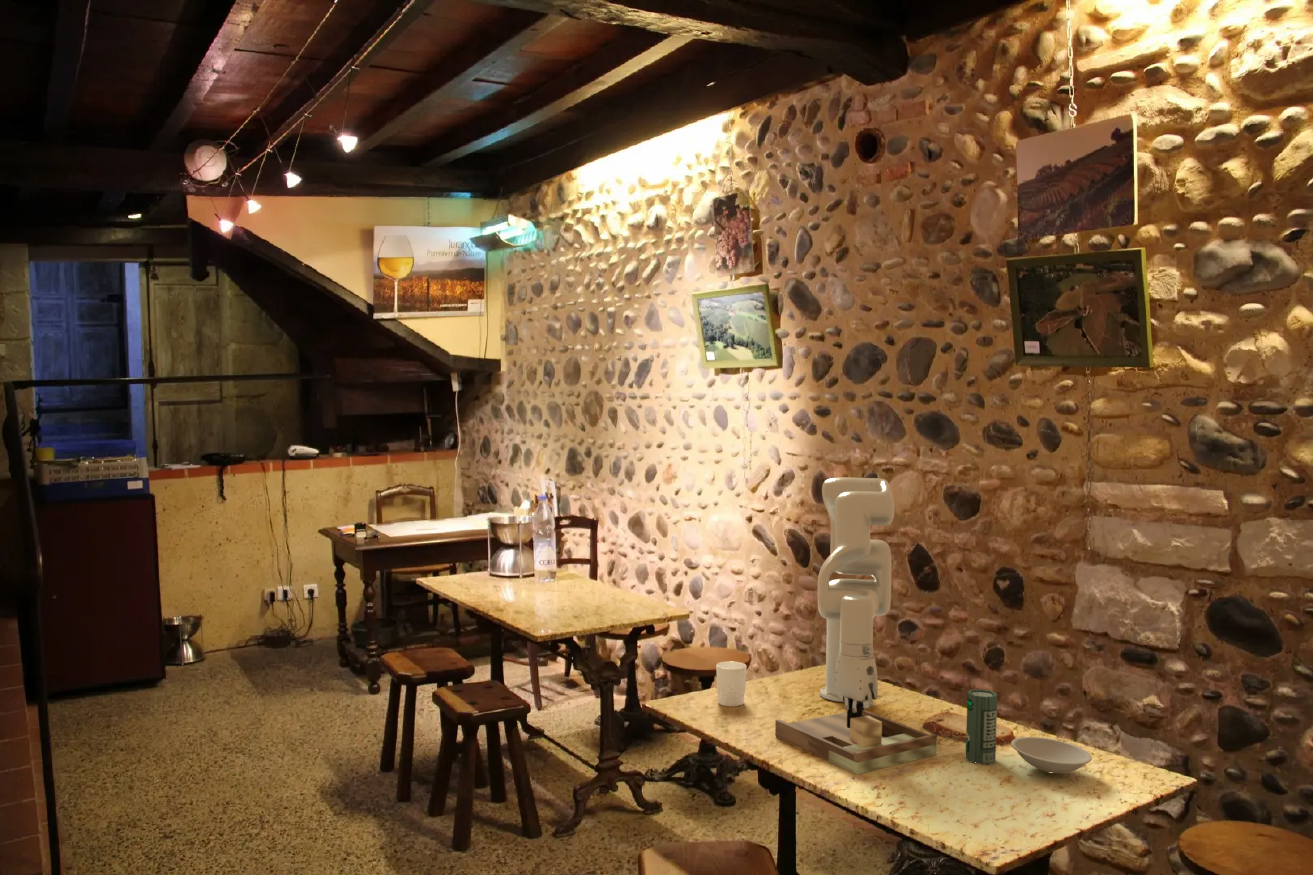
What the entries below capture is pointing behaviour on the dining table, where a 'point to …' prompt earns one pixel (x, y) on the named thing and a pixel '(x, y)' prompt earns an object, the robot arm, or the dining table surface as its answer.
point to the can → (981, 726)
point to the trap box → (835, 746)
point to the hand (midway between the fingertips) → (854, 727)
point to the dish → (1051, 754)
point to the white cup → (731, 683)
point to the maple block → (865, 731)
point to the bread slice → (961, 727)
